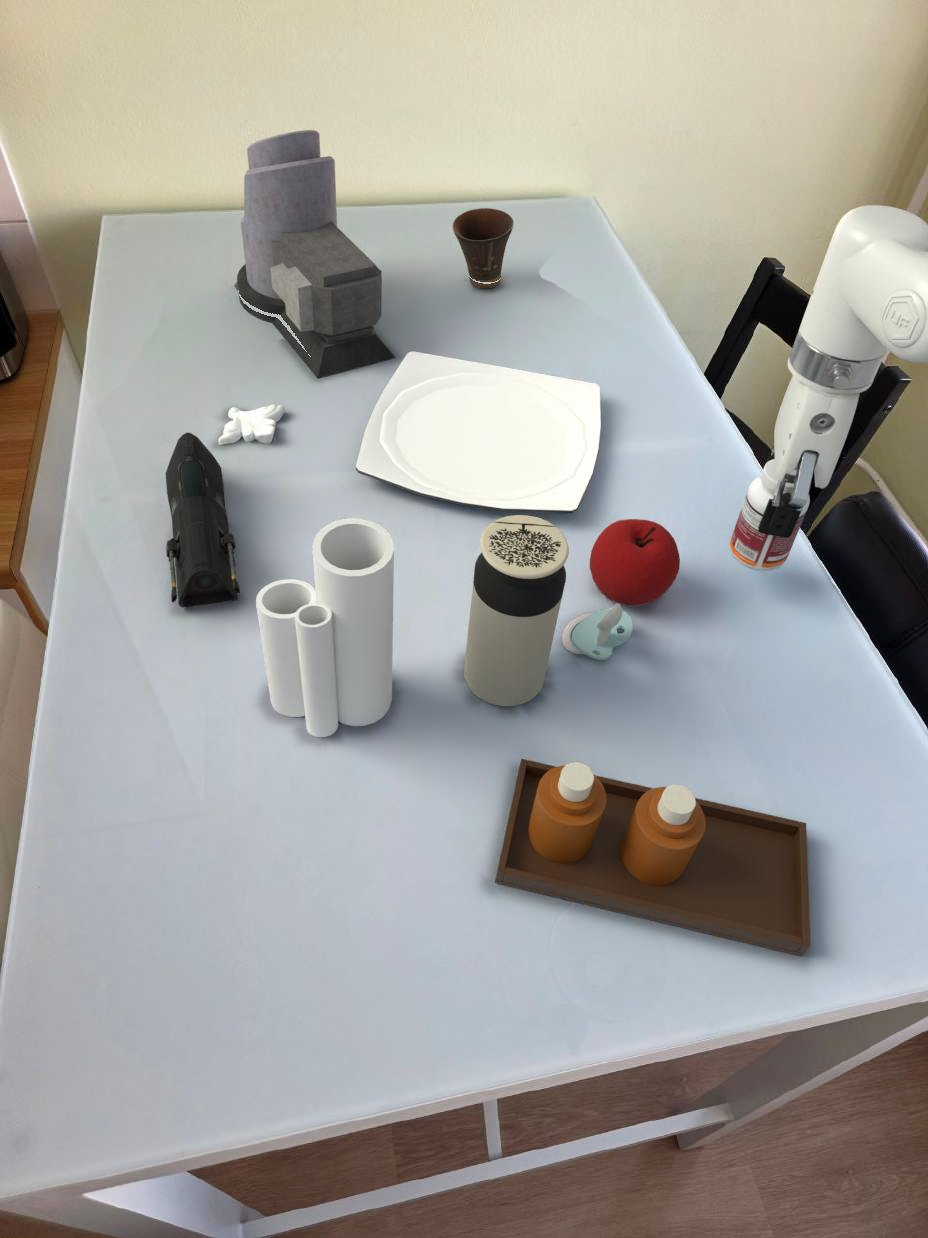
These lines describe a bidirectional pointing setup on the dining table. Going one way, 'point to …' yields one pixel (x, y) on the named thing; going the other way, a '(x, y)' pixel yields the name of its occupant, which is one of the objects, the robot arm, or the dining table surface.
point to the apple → (634, 561)
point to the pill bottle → (746, 538)
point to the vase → (333, 631)
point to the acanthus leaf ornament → (252, 424)
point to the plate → (484, 435)
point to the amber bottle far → (566, 812)
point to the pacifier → (597, 632)
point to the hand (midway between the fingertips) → (773, 510)
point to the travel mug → (514, 608)
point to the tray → (707, 889)
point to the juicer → (307, 258)
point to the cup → (483, 243)
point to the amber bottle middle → (662, 834)
